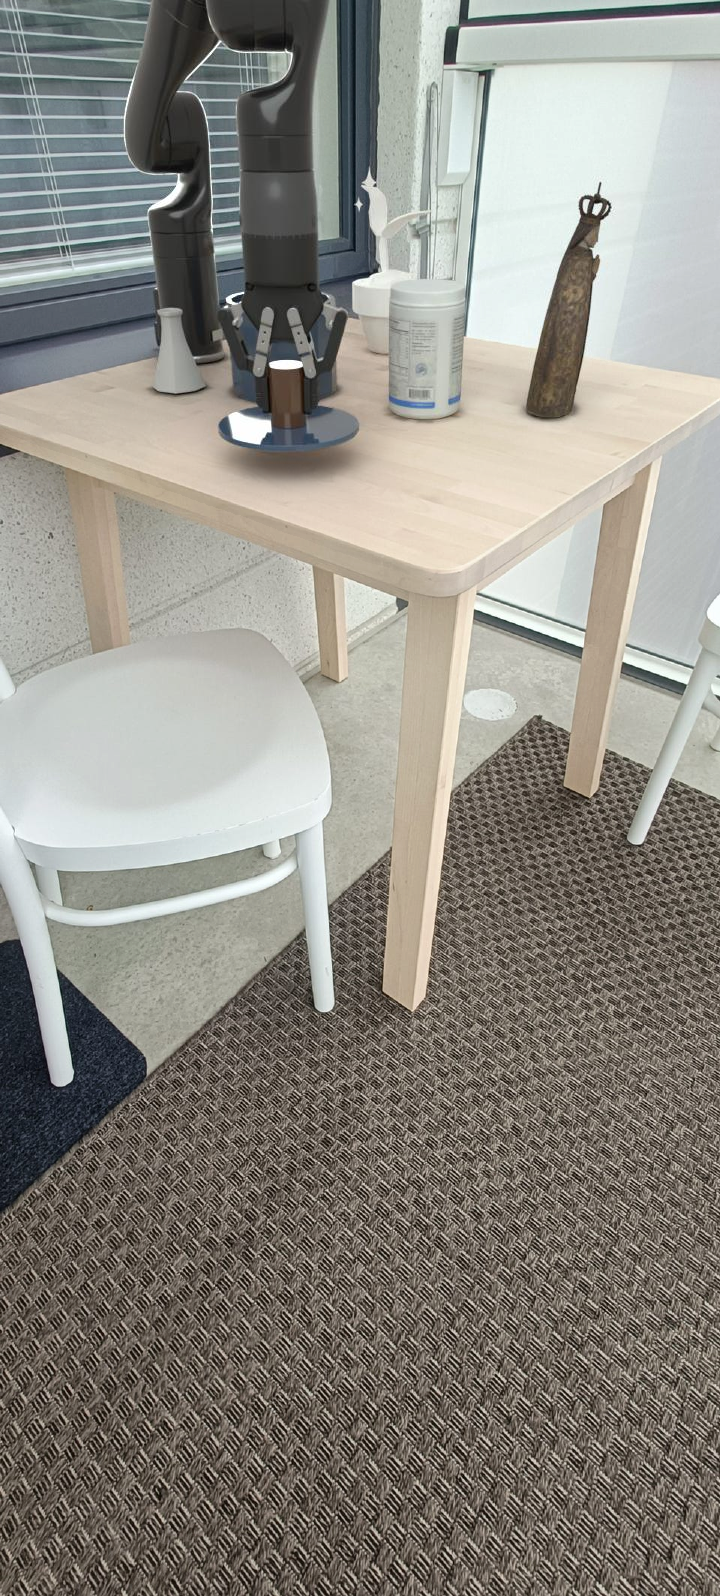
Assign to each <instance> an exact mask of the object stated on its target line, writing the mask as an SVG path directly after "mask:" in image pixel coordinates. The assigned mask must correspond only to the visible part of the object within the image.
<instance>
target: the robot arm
mask: <svg viewBox="0 0 720 1596" xmlns="http://www.w3.org/2000/svg"><path fill="white" fill-rule="evenodd" d="M330 7H331V0H151V1H150V7H149V12H148V18H147V23H146V28H145V33H144V37H143V43H142V46H141V50H140V54H139V58H138V61H137V64H136V68H135V72H134V75H133V78H132V82H131V84H130V88H129V92H128V96H127V100H126V105H125V109H124V118H123V137H124V138H123V139H124V145H125V150H126V153H127V156H128V159H129V161H130V162H131V164H132V165H133V166H134V168H135V169H137V170H138V171H139V172H140V173H143V174H148V175H156V176H158V175H161V176H163V175H177V184H176V187H175V188H174V189H173V191H172V192H170V194H169V195H167V196H166V197H165V198H164V199H162V200H160V201H158V202H157V203H154V204H152V205H151V206H150V207H149V208H148V210H147V223H148V229H149V237H150V244H151V253H152V259H153V267H154V275H155V283H156V287H155V288H154V289H153V290H152V297H153V303H154V304H153V305H154V311H155V320H156V321H154V322H153V327H154V336H155V341H156V345H157V347H159V348H160V345H161V331H162V326H161V318H160V315H158V312H157V310H160V309H164V308H179V309H181V310H182V311H183V313H182V315H181V322H182V328H183V332H184V335H185V339H186V342H187V344H188V347H189V349H190V351H191V354H192V356H193V358H194V361H195V363H196V364H206V363H213V362H216V361H220V360H222V359H223V358H224V357H225V348H224V344H223V343H224V342H223V338H225V340H226V343H227V345H228V348H229V352H230V351H231V353H232V356H233V359H234V361H235V364H236V366H237V368H238V369H239V370H246V371H248V372H251V373H252V374H253V375H254V377H255V387H256V402H255V403H256V405H257V407H259V408H263V413H268V414H270V401H269V385H268V368H267V365H268V363H269V358H270V353H271V349H272V345H273V343H279V342H282V341H284V342H287V343H291V344H296V347H297V351H298V354H299V356H300V358H301V361H302V365H303V368H304V372H305V377H304V379H303V380H304V408H305V414H309V415H311V414H312V412H313V409H316V407H317V405H319V402H320V399H319V379H318V377H319V375H320V374H322V373H325V372H330V371H331V370H332V368H333V366H334V364H335V361H336V362H337V356H338V355H339V351H340V346H341V343H342V340H343V336H344V333H345V330H346V327H347V323H348V319H349V316H350V311H349V309H348V308H347V307H346V306H341V307H337V306H336V305H335V306H332V305H330V304H327V303H325V301H324V298H323V296H322V294H321V292H322V291H321V287H320V261H319V260H320V257H319V256H320V255H319V254H320V253H319V218H318V217H319V216H318V215H319V214H318V194H317V188H316V187H317V186H316V180H315V171H314V168H315V163H314V161H315V160H314V159H315V157H314V155H315V154H314V104H315V103H314V101H315V90H316V82H317V76H318V69H319V63H320V58H321V54H322V48H323V45H324V40H325V36H326V35H325V34H326V30H327V26H328V25H327V24H328V20H329V15H330V14H329V13H330ZM220 43H222V45H223V46H225V48H227V49H229V50H230V51H233V52H236V53H241V54H242V53H244V54H246V53H248V54H250V53H262V54H263V53H266V54H267V53H268V54H269V53H271V54H275V53H277V54H278V53H280V54H281V53H282V54H285V53H287V54H290V55H291V57H290V63H289V67H288V69H287V72H286V73H285V75H284V76H283V77H282V78H280V79H279V80H277V81H275V82H273V83H270V84H267V85H263V86H262V85H261V86H259V87H254V88H252V89H247V90H245V91H244V92H241V94H240V95H239V96H238V98H237V100H236V104H235V124H236V125H235V126H236V134H237V135H236V140H237V154H238V166H239V167H238V168H239V187H238V188H239V189H238V204H239V205H238V207H239V208H238V209H239V213H238V221H239V226H240V233H241V234H240V236H241V249H242V262H243V277H244V291H243V292H244V294H243V297H242V300H241V302H239V303H236V304H233V305H231V306H230V305H226V304H225V305H224V306H222V307H221V306H220V297H219V287H218V286H219V285H218V274H217V264H216V253H215V242H214V241H215V240H214V230H213V221H212V217H213V189H212V170H211V145H210V133H209V125H208V124H209V123H208V119H207V115H206V111H205V108H204V106H203V104H202V101H201V100H200V98H199V97H198V95H196V94H195V93H193V92H191V91H179V89H180V87H182V85H183V84H184V83H185V82H186V80H187V79H189V77H190V76H191V75H192V74H193V73H194V72H195V71H196V70H197V69H198V68H199V67H200V66H201V65H202V64H203V63H204V62H205V61H206V60H207V59H208V58H209V57H210V56H211V55H212V53H213V52H214V51H215V50H216V48H217V47H218V46H219V45H220ZM220 307H221V308H220ZM244 312H245V314H246V315H247V317H248V318H249V320H250V321H251V323H252V324H253V325H254V327H255V328H256V330H257V331H258V333H259V335H258V341H257V346H256V355H255V357H253V356H250V353H249V351H248V348H247V345H246V343H245V340H244V337H243V335H242V332H241V329H240V326H241V325H242V323H243V318H242V314H243V313H244ZM321 314H323V315H324V316H325V318H326V327H327V329H329V330H331V333H330V336H329V340H328V343H327V347H326V350H325V354H324V357H322V358H320V359H317V358H316V354H315V350H314V343H313V340H312V336H311V332H310V331H311V329H312V328H313V326H314V324H315V323H316V321H317V320H318V318H319V316H320V315H321ZM223 335H224V336H223Z"/></svg>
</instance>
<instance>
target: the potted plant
mask: <svg viewBox="0 0 720 1596" xmlns="http://www.w3.org/2000/svg"><path fill="white" fill-rule="evenodd" d="M377 183H378V182H377V181H375V180H374V179H373V177H372V174H371V167H370V166H368V173H367V176H366V179H365V180H364V181H362V182H361V186H360V187H361V188H363V190H365V191H366V192H367V194H368V198H369V207H368V208H369V209H368V220H369V227H370V230H371V231H372V232H373V234H374V236H375V237H379V241H378V253H379V262H380V270H381V271H380V272H376V273H372V274H371V275H369V277H366V278H365V277H364V278H359V279H356V280H354V281H352V282H351V285H352V286H351V287H352V288H351V289H352V292H351V293H352V294H351V295H352V297H351V298H352V299H351V302H352V304H351V305H352V307H351V308H352V311H353V312H354V313H355V314H357V315H358V320H359V322H360V326H361V329H362V333H363V337H364V340H365V343H366V347H367V348H368V350H369V351H370V352H372V353H375V354H382V355H389V302H390V301H389V298H390V288H391V285H392V284H394V283H396V282H400V281H406V280H414V279H415V278H413V277H412V275H411V272H407V271H403V270H398V269H395V268H390V267H389V265H390V259H389V246H388V245H389V243H388V240H389V239H390V240H391V239H393V238H394V236H395V235H396V234H398V232H399V231H401V229H403V227H404V226H406V224H408V223H409V222H410V221H412V220H414V219H416V218H418V217H421V216H427V215H429V214H430V213H431V212H432V210H431V209H427V210H421V211H413V212H411V211H410V212H408V213H405V214H402V215H399V216H397V217H395V218H394V219H392V220H391V221H389V222H388V204H387V198H386V195H385V194H384V193H383V191H382V190H380V189H379V188H378V187H376V186H374V185H375V184H377ZM363 205H364V204H363V203H362V202H361V200H360V197H358V198H357V202H356V203H354V206H356V207H357V210H358V212H360V209H361V207H362V206H363Z"/></svg>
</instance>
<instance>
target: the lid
mask: <svg viewBox="0 0 720 1596" xmlns="http://www.w3.org/2000/svg"><path fill="white" fill-rule="evenodd" d="M267 368H268V385H269V401H270V414H268V413H263V408H259V407H258V406H253V407H249V408H244V409H241V410H237V411H234V412H232V413H229V414H228V415H226V416H224V417H223V418H221V420H219V422H218V425H217V426H218V427H217V430H218V435H219V437H221V439H223V440H224V441H225V442H228V443H229V444H232V445H234V446H237V447H241V448H244V449H249V450H255V451H264V452H278V453H279V452H280V453H281V452H284V453H285V452H288V453H289V452H293V453H294V452H305V451H307V452H308V451H315V450H321V449H322V450H323V449H326V448H327V449H328V448H331V447H335V446H339V445H341V444H343V443H346V442H348V441H351V440H352V439H354V438H355V437H356V436H357V435H358V433H359V432H360V422H359V419H358V418H357V417H356V416H354V415H353V414H351V413H350V412H347V411H345V410H343V409H339V408H335V407H331V406H326V405H319V404H318V405H317V407H316V409H313V412H312V414H311V415H309V414H305V408H304V380H303V379H304V377H305V372H304V368H303V365H302V362H299V361H293V360H281V361H274V362H271V363H269V364H268V365H267Z"/></svg>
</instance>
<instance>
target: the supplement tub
mask: <svg viewBox="0 0 720 1596" xmlns="http://www.w3.org/2000/svg"><path fill="white" fill-rule="evenodd" d="M413 279H414V280H406V281H400V282H396V283H394V284H392V285H391V288H390V298H389V301H390V302H389V354H388V408H389V410H390V411H391V412H392V413H393V414H395V415H396V416H400V417H402V418H405V419H406V418H407V419H413V420H436V419H442V418H447V417H449V416H451V415H453V414H455V413H456V412H457V411H458V410H459V409H460V406H461V398H462V397H461V396H462V379H463V362H464V361H463V359H464V343H465V342H464V341H465V324H466V306H467V305H466V303H467V302H466V300H467V298H466V284H464V283H463V282H460V281H457V280H451V279H442V278H441V279H440V278H413Z"/></svg>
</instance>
